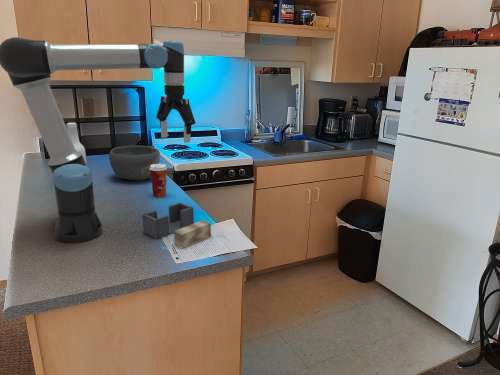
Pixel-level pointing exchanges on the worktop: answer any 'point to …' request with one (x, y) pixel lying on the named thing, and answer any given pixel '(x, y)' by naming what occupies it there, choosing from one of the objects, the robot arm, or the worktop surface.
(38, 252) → the worktop surface
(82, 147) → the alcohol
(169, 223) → the end caps
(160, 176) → the paper cup
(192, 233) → the beige mottled block
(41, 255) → the worktop surface
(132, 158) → the bowl
